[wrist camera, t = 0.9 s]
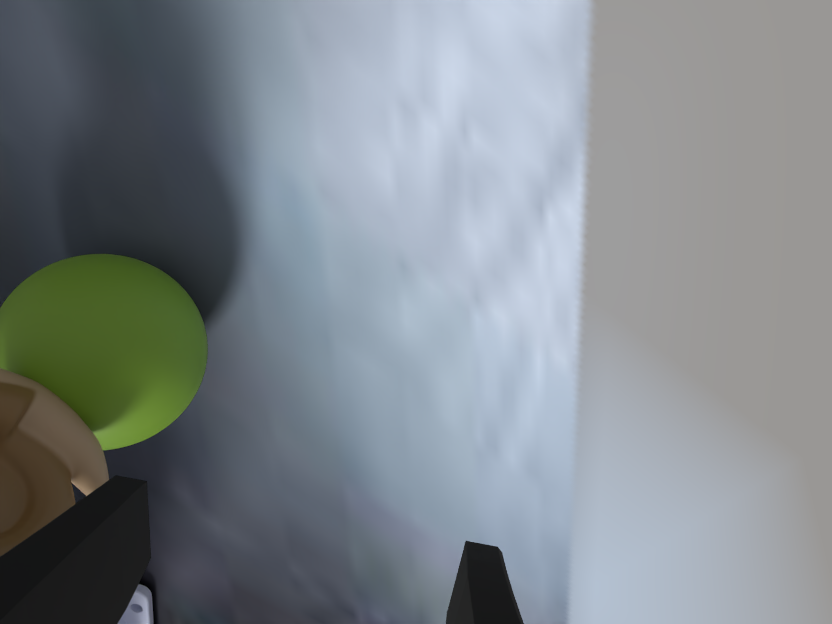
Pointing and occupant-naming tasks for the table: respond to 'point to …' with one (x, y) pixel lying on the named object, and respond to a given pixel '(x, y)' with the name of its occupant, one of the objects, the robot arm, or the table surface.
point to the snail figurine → (87, 378)
